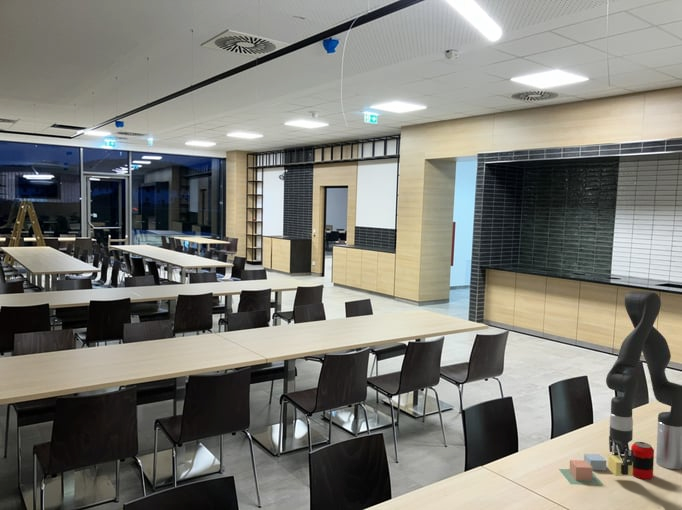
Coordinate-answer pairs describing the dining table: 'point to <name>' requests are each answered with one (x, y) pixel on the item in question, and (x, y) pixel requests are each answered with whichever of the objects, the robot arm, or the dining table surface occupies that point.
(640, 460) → the soda can
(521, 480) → the dining table surface
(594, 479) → the build plate
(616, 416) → the robot arm
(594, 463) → the slate brick
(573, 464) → the base brick
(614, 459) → the mustard brick
